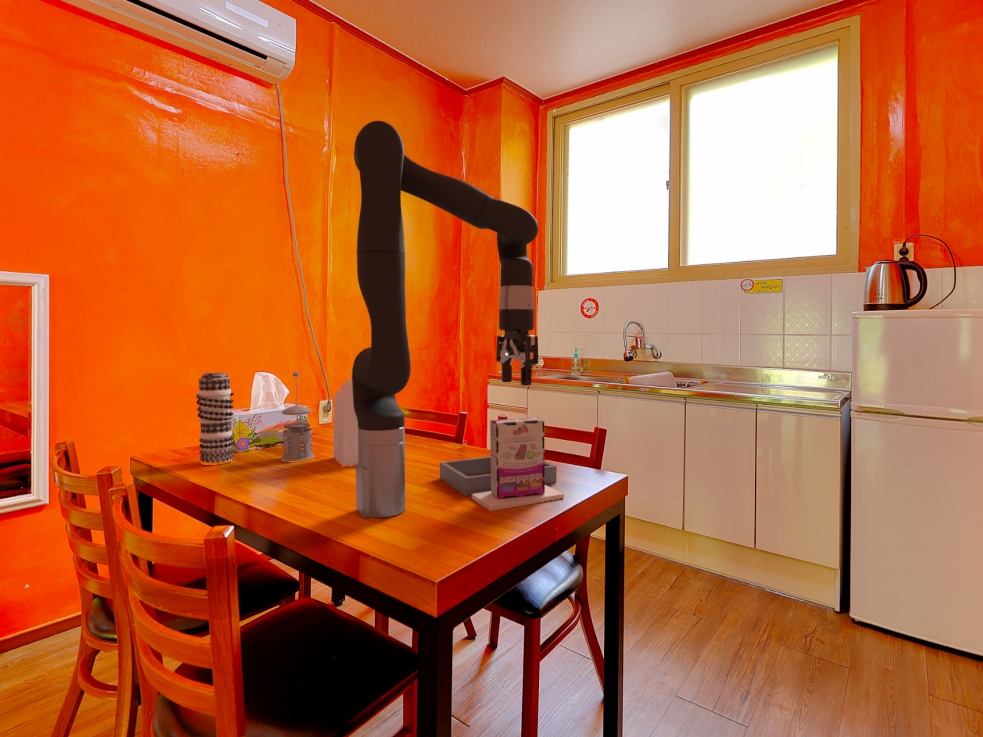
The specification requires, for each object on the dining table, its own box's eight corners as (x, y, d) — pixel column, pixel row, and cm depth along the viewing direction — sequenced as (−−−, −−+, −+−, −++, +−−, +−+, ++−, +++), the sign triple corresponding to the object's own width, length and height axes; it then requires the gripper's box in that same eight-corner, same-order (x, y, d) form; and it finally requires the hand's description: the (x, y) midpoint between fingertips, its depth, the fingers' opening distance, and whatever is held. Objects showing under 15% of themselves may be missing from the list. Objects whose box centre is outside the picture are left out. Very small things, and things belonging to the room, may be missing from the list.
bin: (465, 496, 114) (465, 478, 114) (439, 478, 129) (439, 462, 128) (556, 482, 125) (556, 466, 125) (523, 467, 139) (523, 452, 139)
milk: (384, 462, 145) (383, 369, 143) (343, 467, 139) (341, 371, 138) (372, 453, 155) (371, 367, 154) (333, 458, 150) (331, 368, 148)
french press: (308, 452, 156) (306, 370, 154) (323, 460, 147) (321, 372, 146) (275, 457, 150) (272, 371, 148) (288, 465, 141) (286, 374, 139)
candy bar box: (536, 488, 117) (536, 416, 116) (545, 494, 112) (545, 420, 111) (489, 493, 113) (489, 419, 112) (496, 499, 109) (496, 422, 108)
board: (490, 510, 105) (490, 506, 105) (471, 498, 113) (471, 493, 113) (563, 498, 113) (563, 493, 113) (541, 487, 121) (541, 483, 121)
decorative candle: (208, 458, 149) (205, 372, 147) (241, 458, 149) (238, 371, 148) (191, 466, 140) (188, 374, 138) (226, 466, 140) (223, 374, 139)
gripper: (549, 307, 106) (548, 385, 107) (515, 310, 118) (515, 380, 120) (517, 306, 102) (517, 387, 103) (486, 309, 115) (486, 381, 116)
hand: (516, 383), depth 111 cm, fingers open, 8 cm apart
